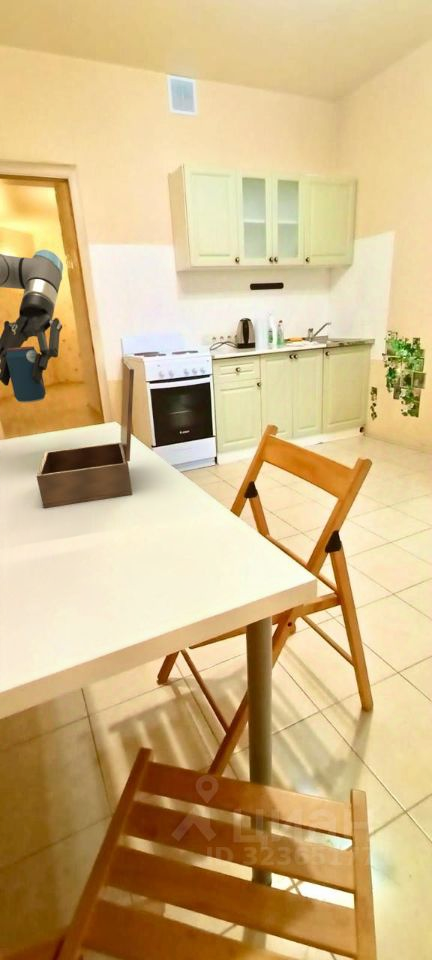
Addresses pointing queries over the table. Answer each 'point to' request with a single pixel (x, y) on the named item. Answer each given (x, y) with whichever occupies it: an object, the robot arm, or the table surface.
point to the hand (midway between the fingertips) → (19, 381)
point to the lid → (127, 409)
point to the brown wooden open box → (83, 475)
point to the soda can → (24, 374)
